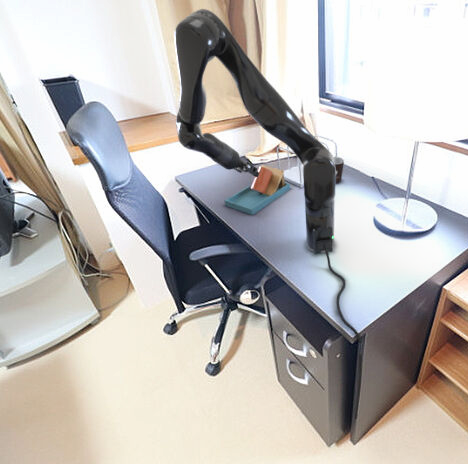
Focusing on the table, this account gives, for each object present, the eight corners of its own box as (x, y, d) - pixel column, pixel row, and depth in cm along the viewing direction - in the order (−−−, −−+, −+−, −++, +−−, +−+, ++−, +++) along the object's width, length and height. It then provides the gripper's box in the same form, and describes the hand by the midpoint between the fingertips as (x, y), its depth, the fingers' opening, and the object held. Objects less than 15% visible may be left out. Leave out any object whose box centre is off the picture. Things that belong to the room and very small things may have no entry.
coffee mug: (346, 179, 150) (347, 159, 144) (337, 186, 144) (338, 165, 138) (325, 173, 155) (325, 154, 149) (316, 180, 149) (315, 160, 143)
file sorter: (315, 161, 168) (314, 132, 159) (339, 171, 157) (339, 140, 148) (277, 176, 154) (274, 145, 145) (300, 188, 144) (299, 155, 135)
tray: (252, 215, 126) (251, 209, 124) (225, 205, 132) (224, 200, 130) (290, 188, 143) (289, 183, 142) (265, 181, 150) (264, 176, 148)
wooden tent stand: (272, 198, 136) (270, 177, 131) (251, 191, 141) (248, 171, 136) (285, 189, 143) (284, 169, 137) (265, 183, 148) (262, 164, 142)
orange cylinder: (260, 200, 134) (256, 174, 127) (248, 196, 136) (244, 171, 130) (276, 189, 142) (274, 164, 135) (265, 185, 144) (262, 161, 138)
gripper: (205, 160, 116) (233, 177, 131) (234, 168, 110) (259, 185, 125) (213, 142, 117) (240, 160, 131) (242, 148, 111) (267, 167, 125)
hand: (249, 172), depth 128 cm, fingers open, 8 cm apart
